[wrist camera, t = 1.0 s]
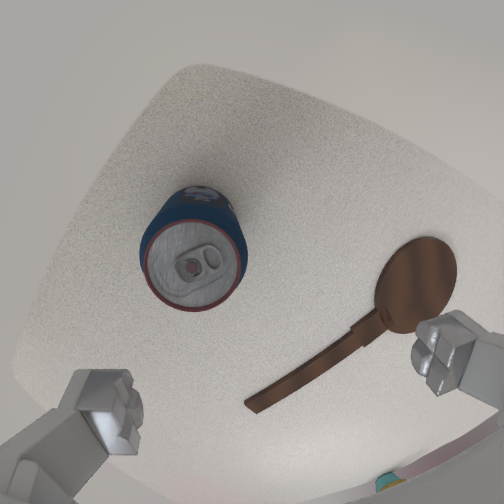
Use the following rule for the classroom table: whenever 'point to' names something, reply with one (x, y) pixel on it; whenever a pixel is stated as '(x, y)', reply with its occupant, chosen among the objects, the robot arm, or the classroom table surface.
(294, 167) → the classroom table surface
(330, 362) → the serving spoon
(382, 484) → the cupcake
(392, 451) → the classroom table surface
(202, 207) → the soda can
